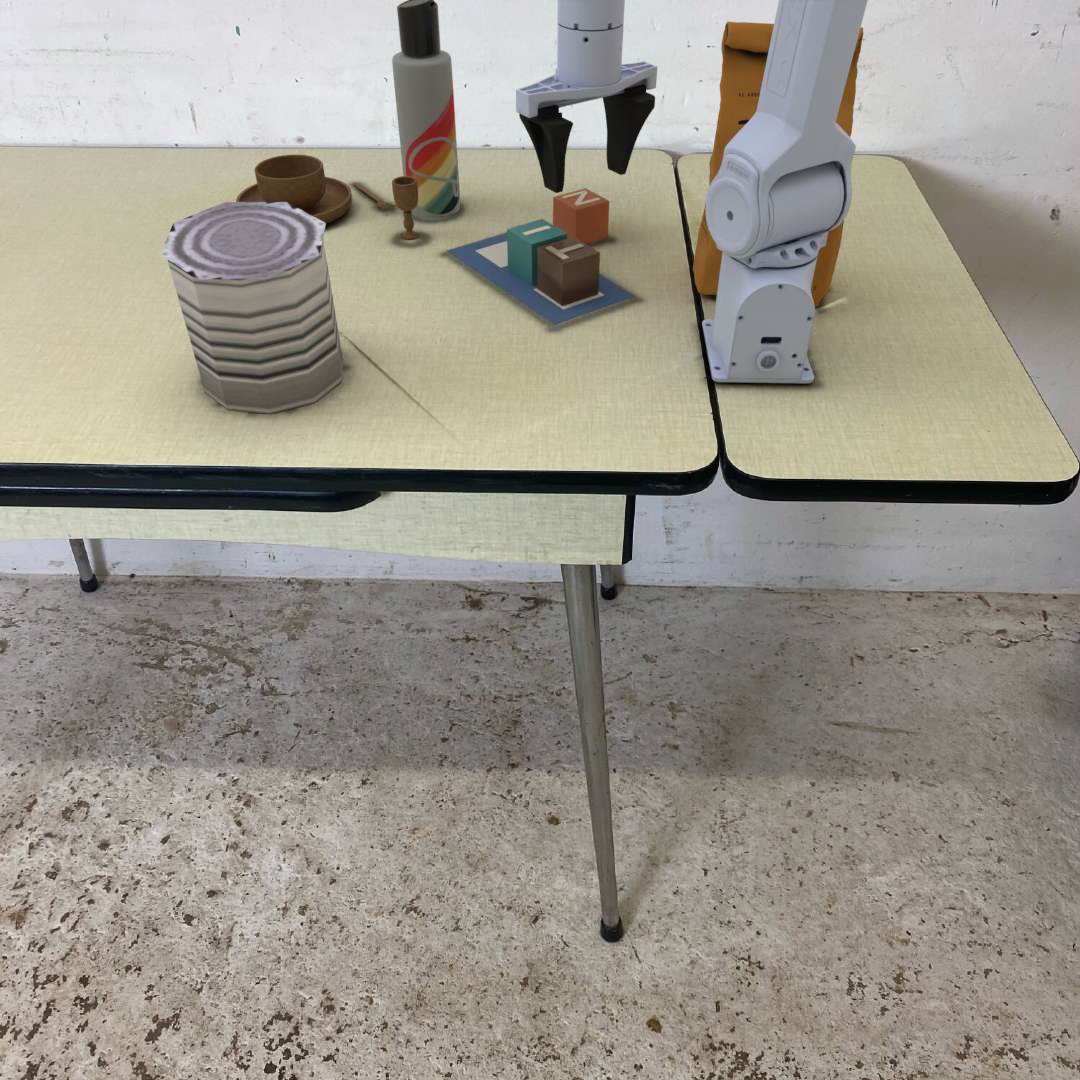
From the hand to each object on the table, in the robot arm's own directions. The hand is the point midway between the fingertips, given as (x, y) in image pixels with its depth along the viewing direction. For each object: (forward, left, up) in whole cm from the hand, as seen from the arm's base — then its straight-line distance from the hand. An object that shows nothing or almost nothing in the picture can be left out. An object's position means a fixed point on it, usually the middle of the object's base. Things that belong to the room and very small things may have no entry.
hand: (585, 180), depth 91 cm
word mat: (-8, +4, -6) cm, 11 cm away
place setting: (+3, +28, -6) cm, 29 cm away
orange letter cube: (+1, 0, -6) cm, 6 cm away
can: (-26, +25, -6) cm, 36 cm away
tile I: (-8, +4, -6) cm, 11 cm away
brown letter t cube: (-12, +1, -6) cm, 13 cm away
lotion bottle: (+7, +16, -6) cm, 19 cm away
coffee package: (-10, -16, -6) cm, 20 cm away
